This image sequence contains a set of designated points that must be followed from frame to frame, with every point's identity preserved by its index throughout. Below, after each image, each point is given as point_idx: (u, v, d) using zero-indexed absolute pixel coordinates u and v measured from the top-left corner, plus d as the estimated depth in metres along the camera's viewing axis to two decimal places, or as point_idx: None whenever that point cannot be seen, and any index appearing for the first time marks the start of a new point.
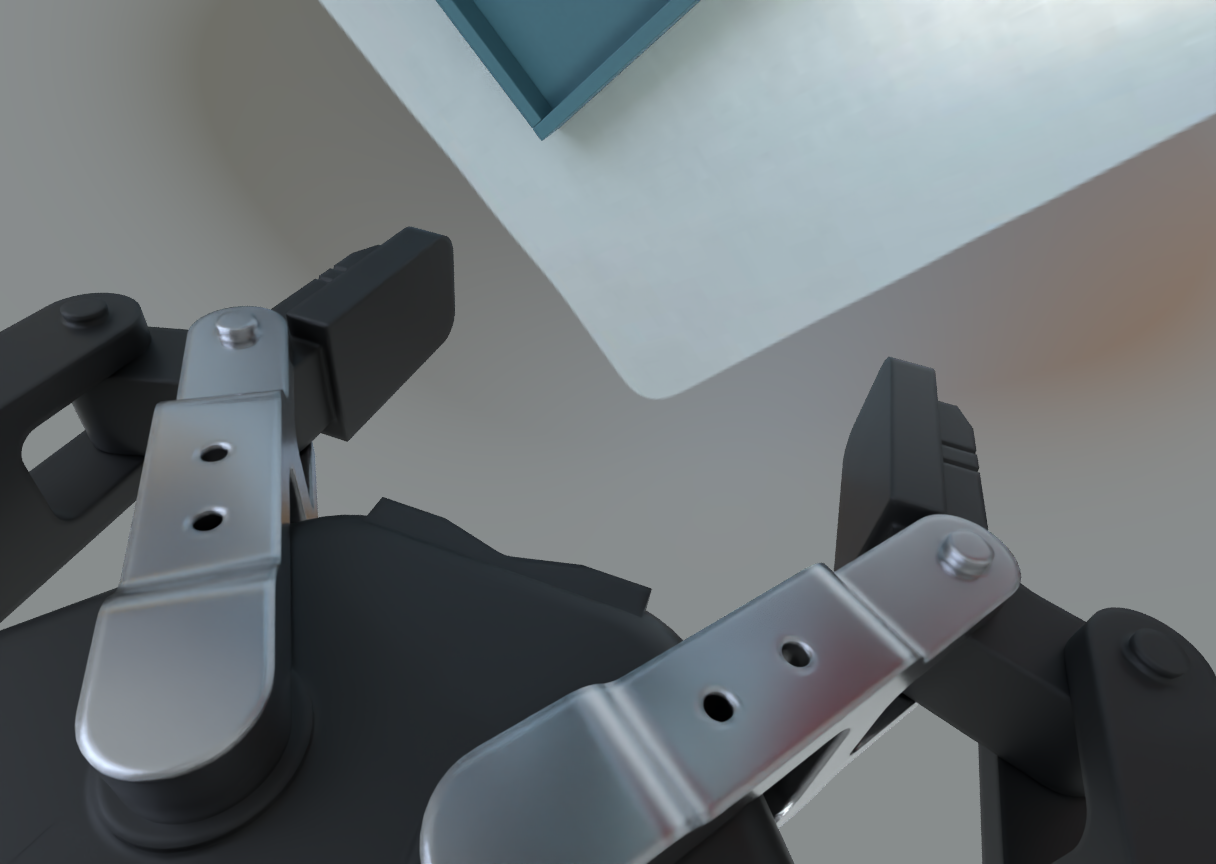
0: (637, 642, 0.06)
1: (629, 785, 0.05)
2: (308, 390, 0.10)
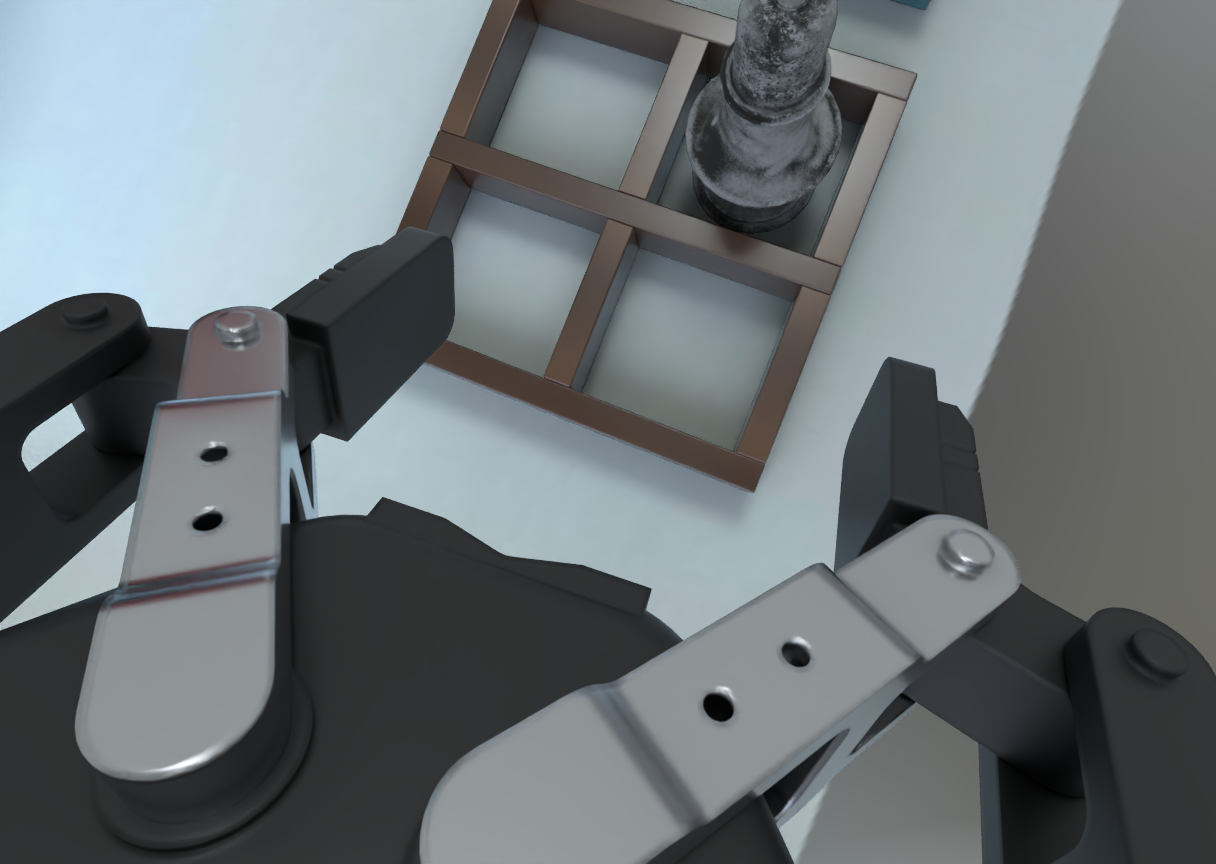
0: (637, 642, 0.06)
1: (629, 785, 0.05)
2: (308, 390, 0.10)
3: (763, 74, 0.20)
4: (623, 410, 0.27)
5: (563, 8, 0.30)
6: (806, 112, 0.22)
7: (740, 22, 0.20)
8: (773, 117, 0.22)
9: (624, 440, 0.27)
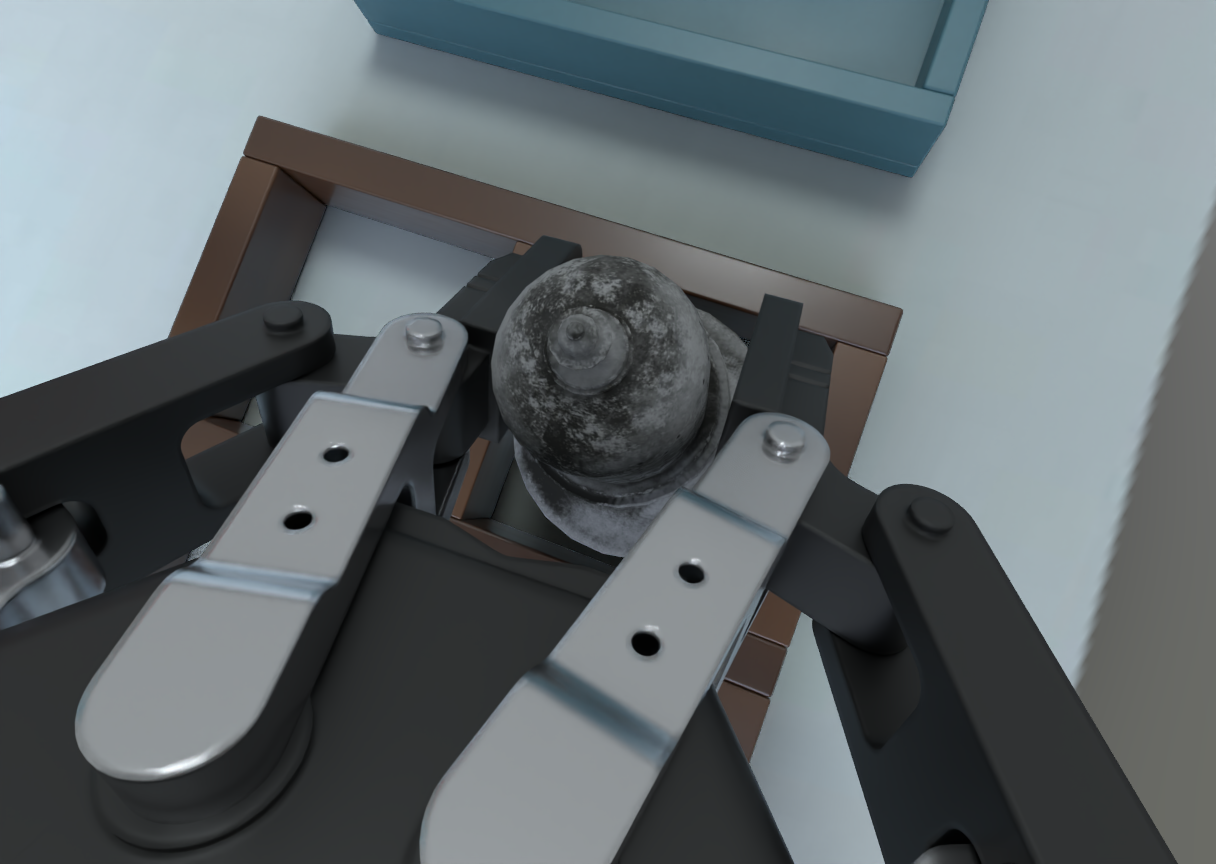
0: None
1: (601, 743, 0.05)
2: (477, 394, 0.10)
3: None
4: None
5: (343, 194, 0.19)
6: (683, 484, 0.11)
7: (493, 389, 0.09)
8: (619, 496, 0.11)
9: None
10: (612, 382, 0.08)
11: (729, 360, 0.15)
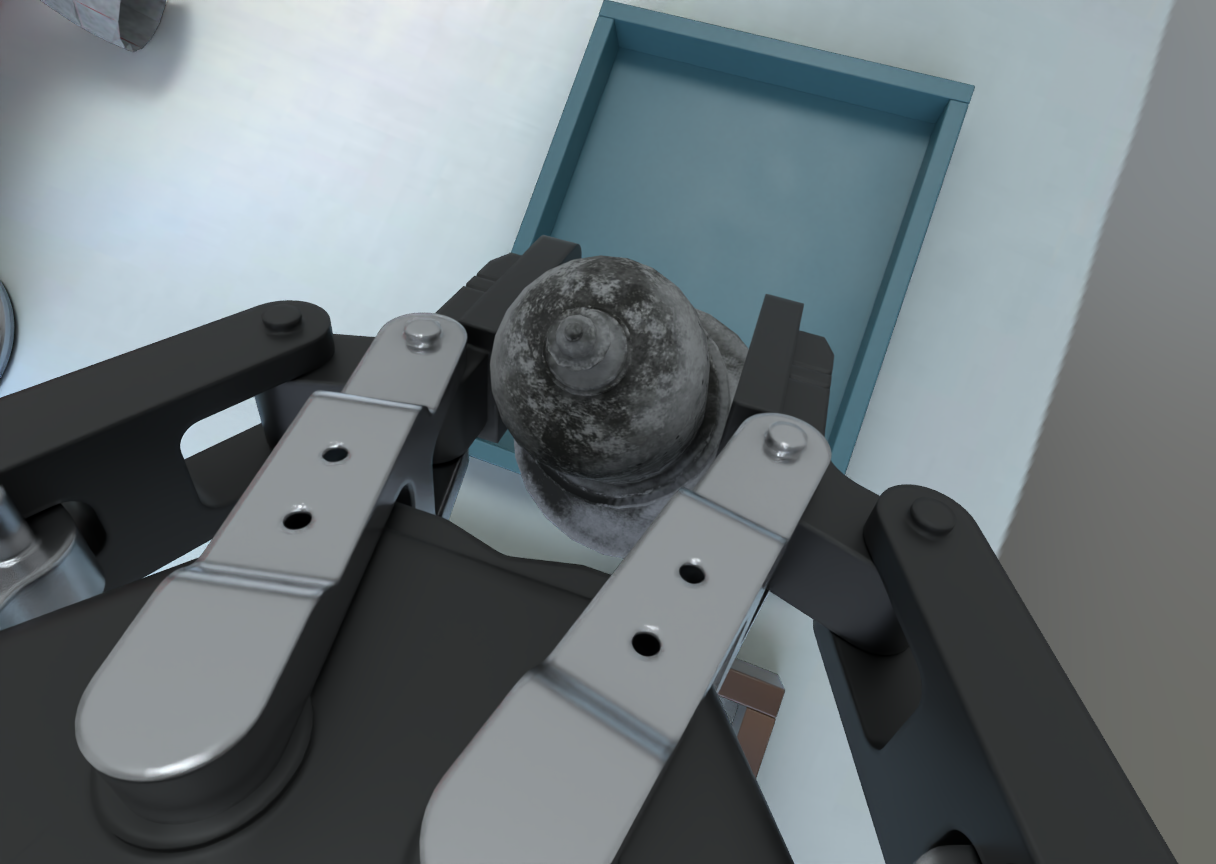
0: None
1: (602, 743, 0.05)
2: (476, 394, 0.10)
3: None
4: None
5: None
6: (683, 485, 0.11)
7: (492, 390, 0.09)
8: (617, 496, 0.11)
9: None
10: (611, 383, 0.08)
11: (729, 361, 0.15)
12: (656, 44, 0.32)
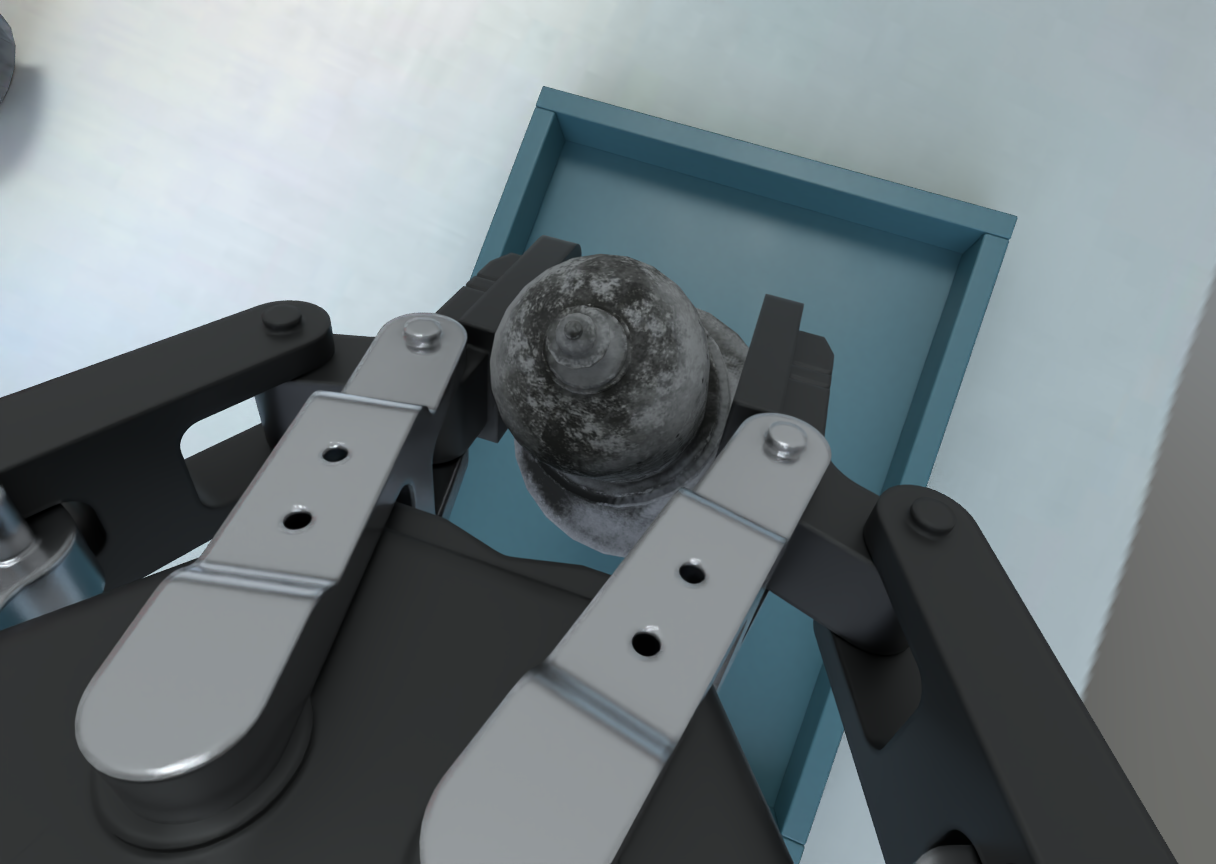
0: None
1: (601, 743, 0.05)
2: (476, 394, 0.10)
3: None
4: None
5: None
6: (683, 484, 0.11)
7: (492, 388, 0.09)
8: (618, 495, 0.11)
9: None
10: (611, 381, 0.08)
11: (730, 360, 0.15)
12: (610, 142, 0.25)
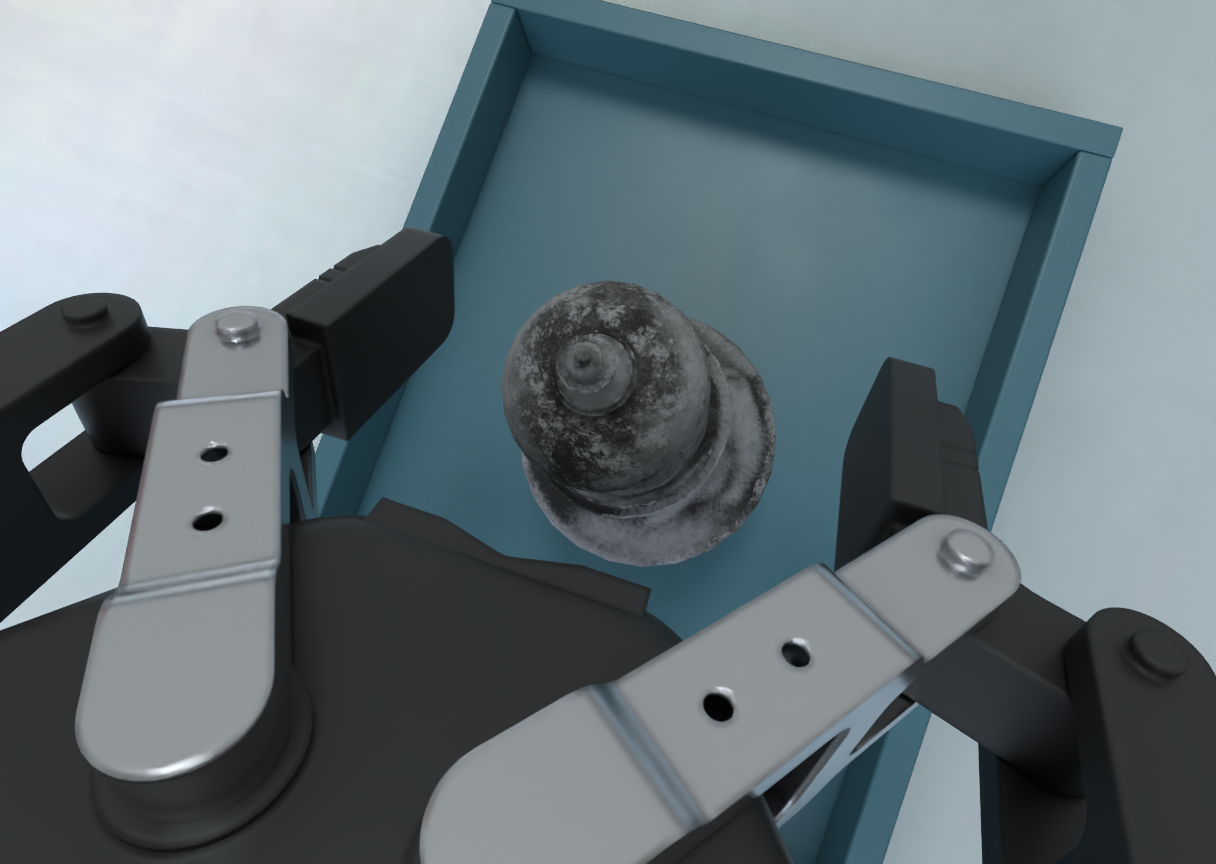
0: (637, 642, 0.06)
1: (629, 785, 0.05)
2: (308, 390, 0.10)
3: None
4: None
5: None
6: (686, 496, 0.12)
7: (503, 409, 0.09)
8: (623, 507, 0.12)
9: None
10: (617, 404, 0.08)
11: (730, 372, 0.15)
12: (587, 50, 0.20)
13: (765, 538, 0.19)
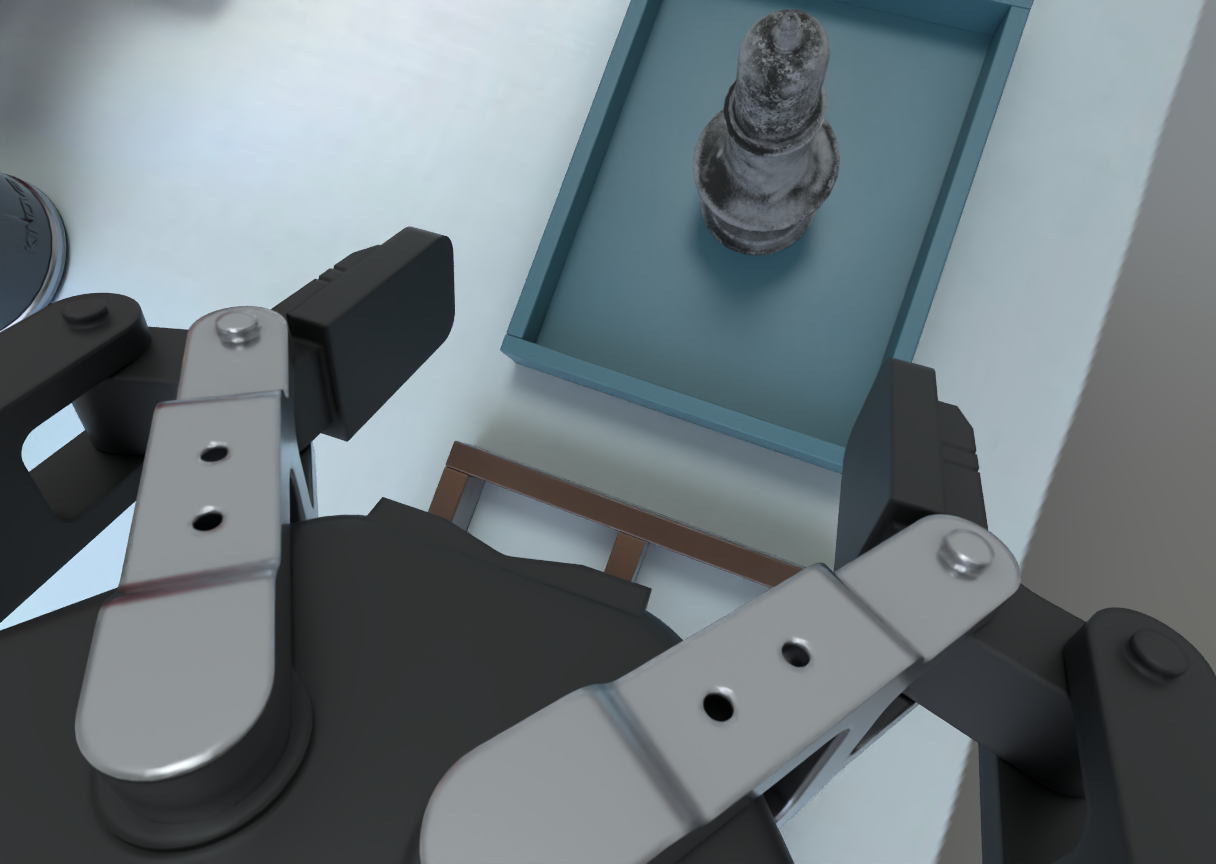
0: (637, 642, 0.06)
1: (629, 784, 0.05)
2: (308, 390, 0.10)
3: (764, 110, 0.22)
4: None
5: None
6: (805, 142, 0.24)
7: (741, 65, 0.21)
8: (775, 148, 0.24)
9: None
10: (797, 47, 0.20)
11: None
12: None
13: (827, 248, 0.31)
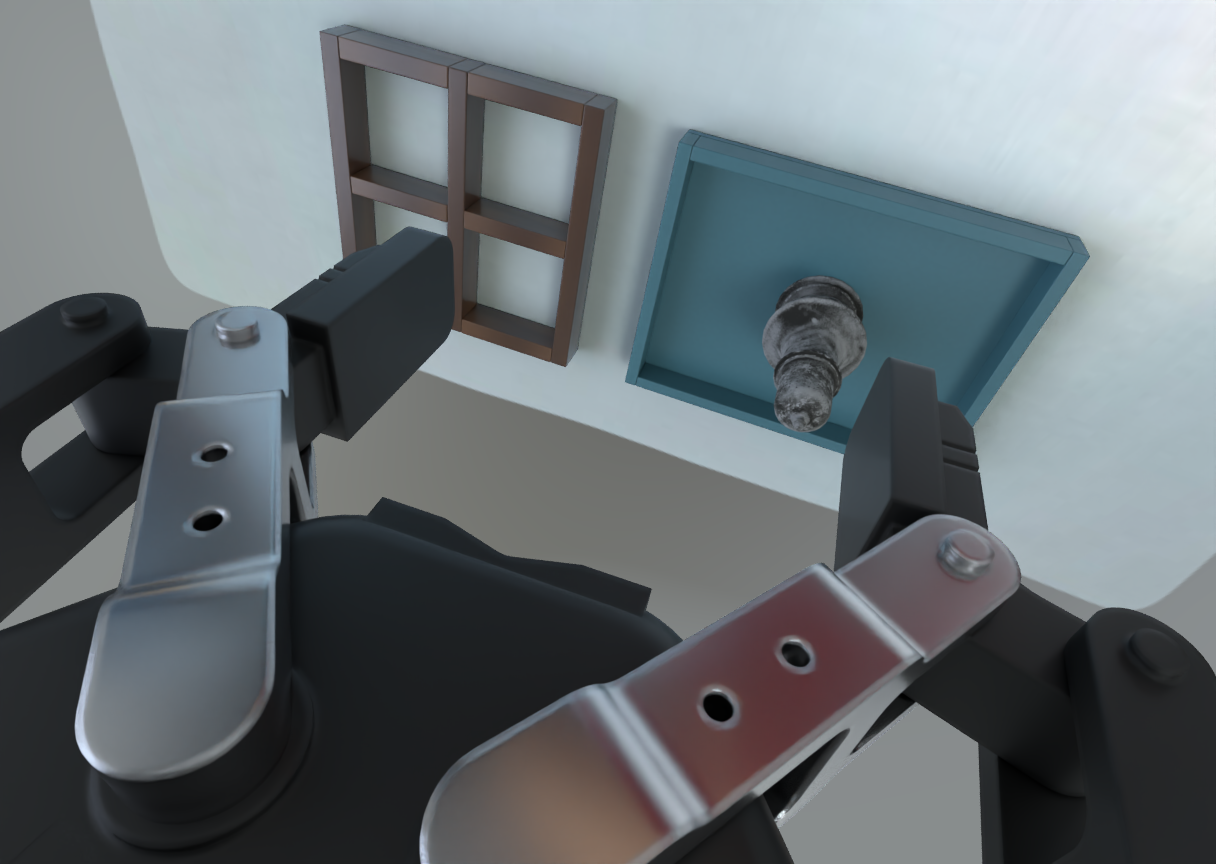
0: (637, 642, 0.06)
1: (629, 785, 0.05)
2: (308, 390, 0.10)
3: (777, 390, 0.36)
4: (353, 225, 0.47)
5: None
6: None
7: (795, 388, 0.34)
8: (776, 379, 0.38)
9: (340, 227, 0.48)
10: (792, 422, 0.35)
11: None
12: (1039, 289, 0.37)
13: None
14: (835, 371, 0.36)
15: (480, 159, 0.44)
